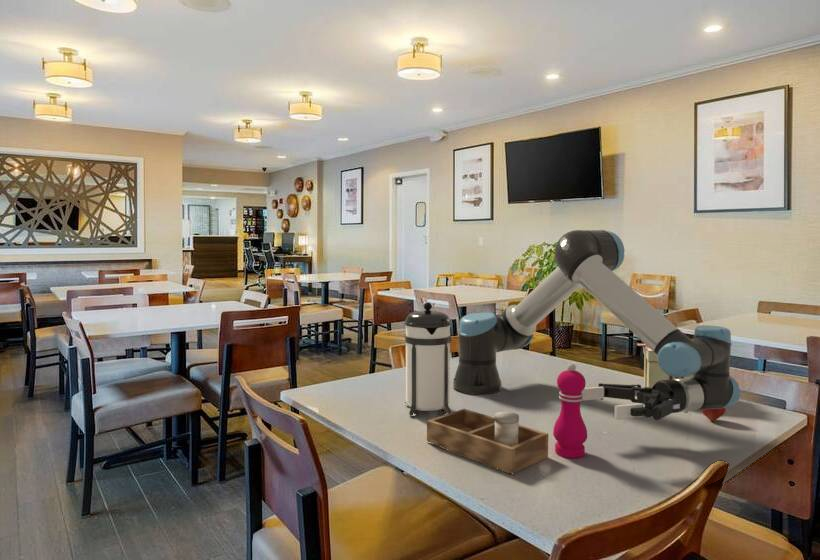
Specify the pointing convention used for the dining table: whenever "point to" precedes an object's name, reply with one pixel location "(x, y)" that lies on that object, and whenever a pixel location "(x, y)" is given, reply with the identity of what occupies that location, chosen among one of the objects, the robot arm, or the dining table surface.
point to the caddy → (489, 439)
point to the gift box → (654, 368)
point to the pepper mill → (570, 415)
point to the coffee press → (427, 360)
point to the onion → (713, 413)
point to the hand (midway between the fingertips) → (596, 403)
